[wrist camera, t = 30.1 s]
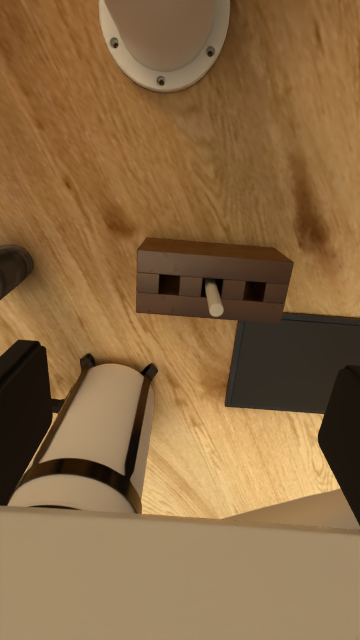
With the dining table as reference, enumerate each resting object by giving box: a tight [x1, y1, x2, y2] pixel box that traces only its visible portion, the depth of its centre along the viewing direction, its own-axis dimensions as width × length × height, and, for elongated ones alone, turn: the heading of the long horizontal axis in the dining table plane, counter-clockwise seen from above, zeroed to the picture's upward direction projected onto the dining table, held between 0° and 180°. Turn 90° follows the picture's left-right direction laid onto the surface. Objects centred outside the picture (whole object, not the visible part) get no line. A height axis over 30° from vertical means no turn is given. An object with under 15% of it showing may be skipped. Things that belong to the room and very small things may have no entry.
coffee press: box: [6, 354, 158, 514], centre depth 35 cm, size 17×16×30 cm
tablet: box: [225, 312, 360, 414], centre depth 46 cm, size 22×16×1 cm
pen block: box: [136, 238, 294, 324], centre depth 38 cm, size 7×16×8 cm, turn 86°
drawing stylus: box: [203, 278, 224, 317], centre depth 35 cm, size 1×1×14 cm
